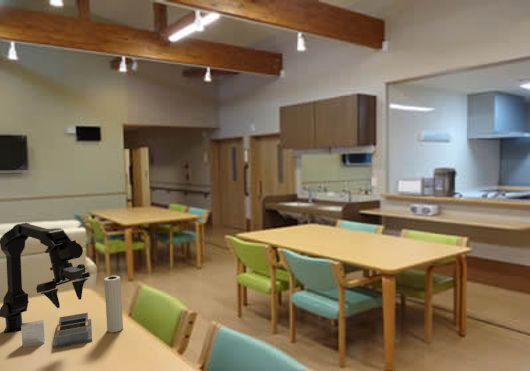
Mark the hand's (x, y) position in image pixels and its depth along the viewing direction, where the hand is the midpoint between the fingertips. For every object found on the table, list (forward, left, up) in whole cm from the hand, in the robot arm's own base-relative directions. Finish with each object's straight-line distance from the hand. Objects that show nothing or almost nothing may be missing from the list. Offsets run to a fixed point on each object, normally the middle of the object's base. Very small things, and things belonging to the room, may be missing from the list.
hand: (69, 303), depth 150 cm
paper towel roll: (-6, +16, -16) cm, 23 cm away
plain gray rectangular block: (-7, -13, -15) cm, 21 cm away
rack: (-9, 0, -15) cm, 18 cm away
